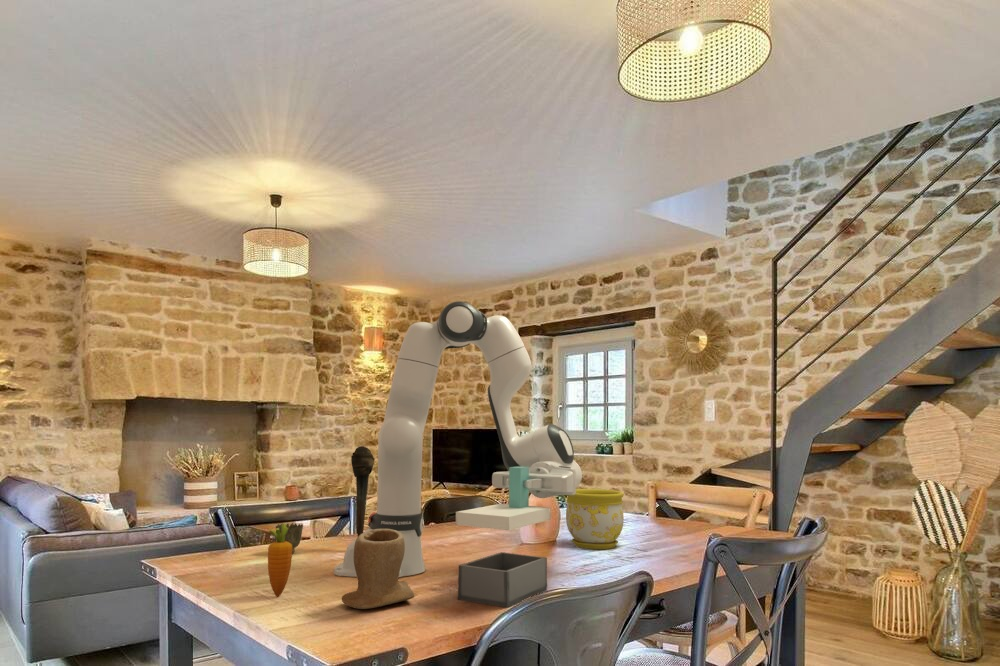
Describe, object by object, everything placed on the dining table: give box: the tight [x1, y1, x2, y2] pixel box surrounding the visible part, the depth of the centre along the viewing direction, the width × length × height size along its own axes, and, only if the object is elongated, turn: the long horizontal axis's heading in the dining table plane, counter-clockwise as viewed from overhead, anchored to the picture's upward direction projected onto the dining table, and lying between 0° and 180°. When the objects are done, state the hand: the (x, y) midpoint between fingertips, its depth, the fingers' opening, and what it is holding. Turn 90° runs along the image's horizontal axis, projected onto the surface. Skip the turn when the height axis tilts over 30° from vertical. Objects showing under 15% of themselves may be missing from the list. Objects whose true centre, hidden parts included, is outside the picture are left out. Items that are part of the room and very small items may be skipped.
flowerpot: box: [565, 488, 625, 550], centre depth 209 cm, size 18×18×16 cm
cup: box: [275, 523, 304, 555], centre depth 190 cm, size 8×7×8 cm
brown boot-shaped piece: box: [340, 529, 415, 610], centre depth 139 cm, size 15×12×15 cm
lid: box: [455, 467, 552, 531], centre depth 150 cm, size 19×13×12 cm
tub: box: [457, 551, 548, 609], centre depth 148 cm, size 18×12×7 cm, turn 149°
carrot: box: [267, 523, 293, 598], centre depth 144 cm, size 5×5×15 cm
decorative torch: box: [350, 445, 375, 537], centre depth 196 cm, size 7×7×30 cm
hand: (517, 483), depth 155 cm, fingers closed on lid, 3 cm apart
